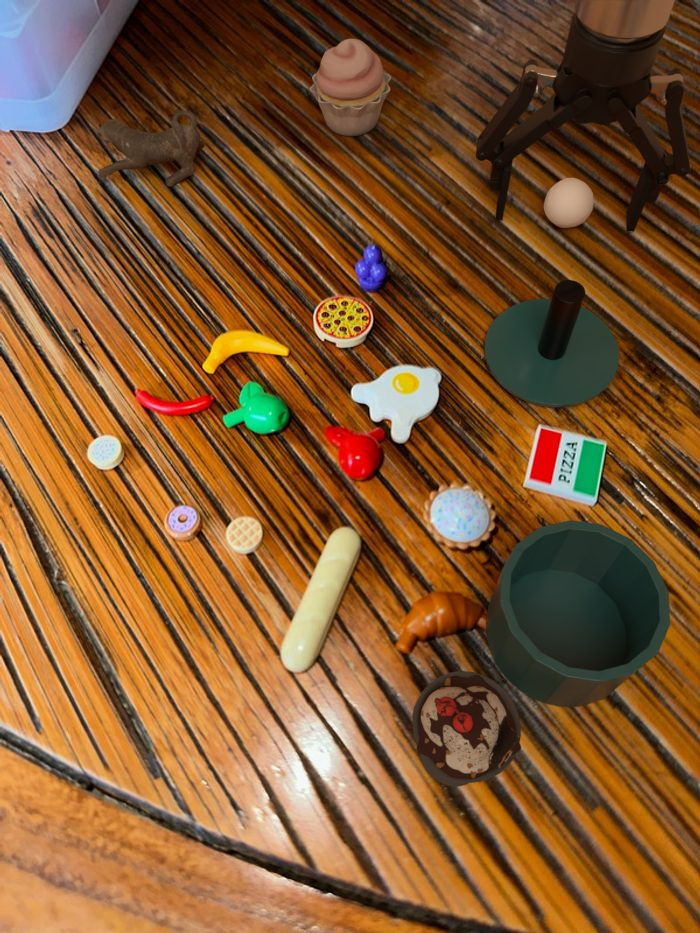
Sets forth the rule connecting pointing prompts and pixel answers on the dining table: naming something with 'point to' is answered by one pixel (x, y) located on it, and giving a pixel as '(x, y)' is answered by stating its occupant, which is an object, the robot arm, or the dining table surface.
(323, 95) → the cupcake
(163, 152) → the dog figurine
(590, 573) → the pot
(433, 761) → the sundae
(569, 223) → the beige ball
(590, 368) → the lid
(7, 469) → the dining table surface
